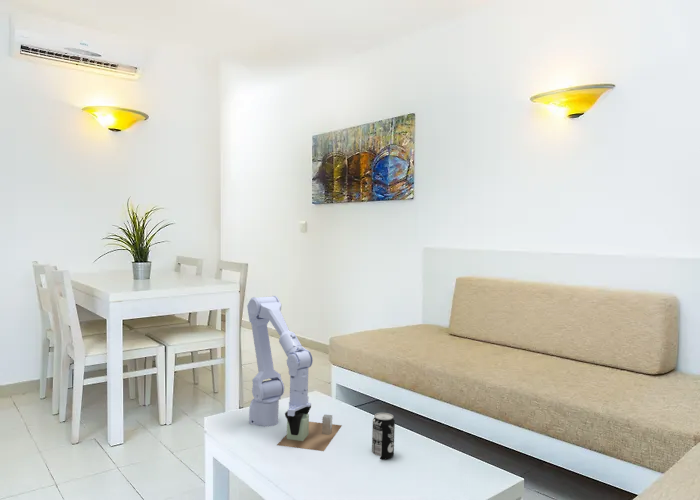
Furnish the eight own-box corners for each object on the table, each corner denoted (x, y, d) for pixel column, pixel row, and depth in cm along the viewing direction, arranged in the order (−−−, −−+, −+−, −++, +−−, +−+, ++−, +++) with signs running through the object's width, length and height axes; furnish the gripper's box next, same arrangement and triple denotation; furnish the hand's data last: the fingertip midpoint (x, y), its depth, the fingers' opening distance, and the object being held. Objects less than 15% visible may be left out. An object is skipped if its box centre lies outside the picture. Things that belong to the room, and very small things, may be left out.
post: (322, 433, 167) (322, 417, 167) (324, 431, 170) (324, 414, 170) (329, 434, 167) (330, 417, 166) (331, 431, 169) (332, 415, 169)
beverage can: (393, 451, 158) (395, 412, 157) (393, 461, 151) (394, 420, 151) (372, 450, 158) (373, 411, 158) (371, 459, 152) (372, 419, 151)
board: (276, 448, 157) (276, 445, 157) (300, 423, 179) (300, 420, 179) (323, 455, 154) (323, 451, 154) (341, 428, 175) (342, 425, 175)
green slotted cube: (286, 439, 162) (287, 418, 162) (292, 432, 167) (293, 412, 167) (303, 441, 161) (303, 420, 161) (308, 434, 166) (308, 414, 166)
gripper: (303, 396, 156) (302, 441, 156) (317, 383, 170) (316, 424, 170) (281, 394, 157) (280, 438, 158) (297, 381, 171) (296, 422, 172)
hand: (297, 431), depth 164 cm, fingers closed on green slotted cube, 5 cm apart
